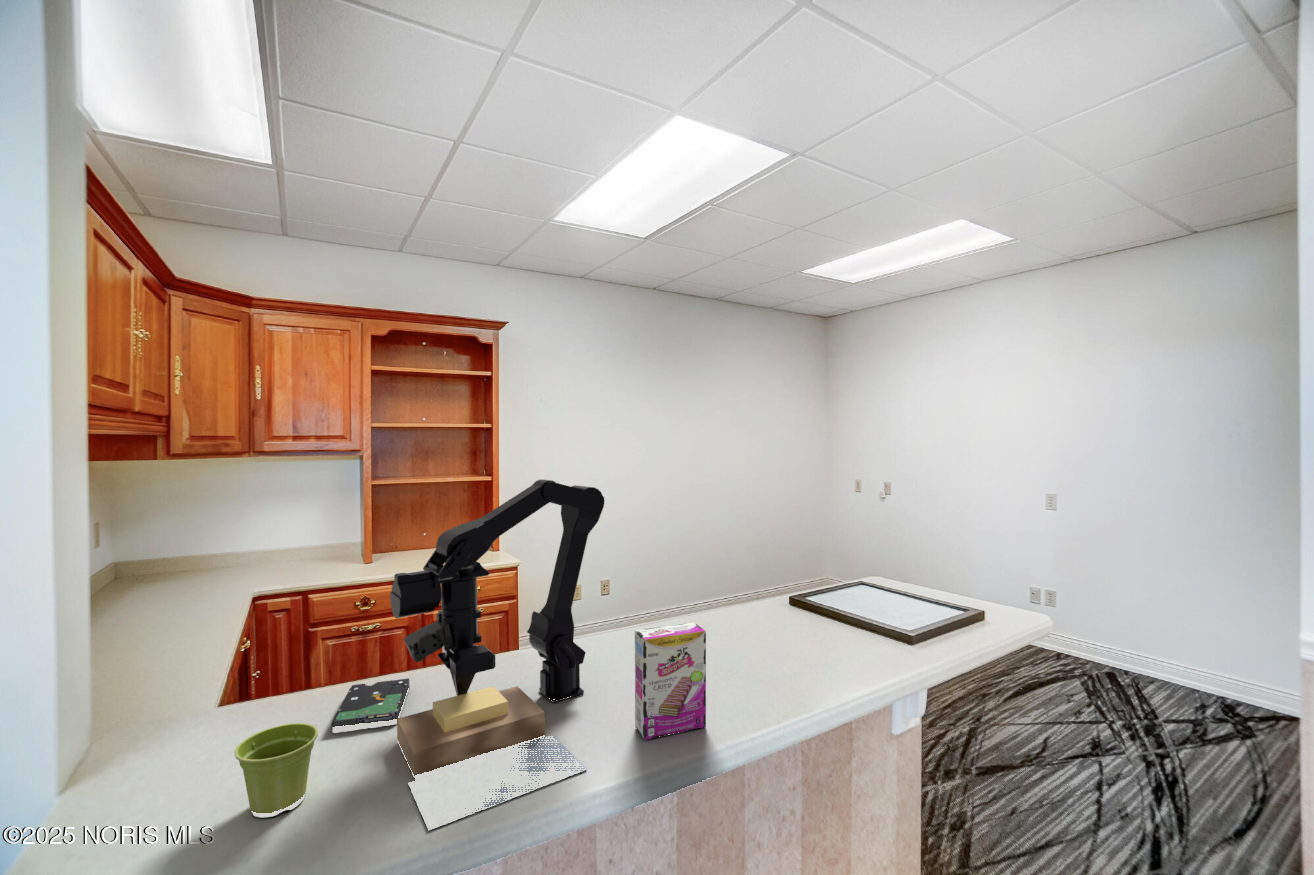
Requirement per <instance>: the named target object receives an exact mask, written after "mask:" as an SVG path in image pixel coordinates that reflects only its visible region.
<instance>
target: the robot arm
mask: <svg viewBox="0 0 1314 875" xmlns="http://www.w3.org/2000/svg"><path fill="white" fill-rule="evenodd" d="M549 503H550V504H553V505H558V506H560V508H561V509H560V517H561V522H562V527H563V530H562V535H561V540H560V544H559V548H558V552H557V555H556V561H555V564H554V569H553V573H552V576H551V582H550V586H549V591H548V595H547V599H546V603H545V604H544V606H543V608H541V610H540V611H539V612H537V611H533V612H532V613H531V614H532V615H531V617H530V618H531V621H530V625H529V628H528V629H527V631H526V632H527V634H529V636H528V637H529V638H528V640H529V644H530V645H531V647H532V648H533V649H534V650H535V651H537V652H538V657H540V658H543V659H544V660H542V664H541V666H542V668H541V670H540V672H539V676H540V677H539V685H540V686H539V688H538V690H540V691H541V692H540V691H539V692H540V693H541V694H542V693H543V694H544V695H545V696H544V695H543V694H542V695H543V696H544V697H546V698H547V697H548V698H550V700H552V701H556V700H560V699H563V698H567V697H570V696H574V697H577V696H576V695H578V694H581V695H584V693H585V690H584V689H583V688H581V683H580V682H581V679H580V678H581V677H580V670H581V669H580V665H582V664H583V663H584V659H585V658H586V657H585V656H586V651H585V650H584V649H583V648H582V647H580V646H579V645H578V644H576V643H575V642H574V635H575V623H574V619H573V612H572V610H573V609H572V607H573V604H574V600H575V594H576V590H577V586H578V585H577V584H578V580H579V577H580V572H581V569H582V568H581V567H582V565H583V564H582V563H583V560H584V554H585V550H586V546H587V542H588V537H589V535H590V533H591V531H592V530H593V529H594V528H595V527H596V525H597V524H598V523H599V520H600V517H601V515H602V513H603V510H604V506H605V496H603V494H602V491H601V490H600V489H598V488H597V487H592V486H584V485H575V484H574V485H572V486H570V485H566V484H562V483H559V482H556V481H554V480H552V479H551V480H550V479H538V480H535V482H533V483H532V485H530V486H529V487H527V488H525V489H524V490H522V491H521V492H519V493H518V494H516V495H515V496H513V497H511V498H510V499H508V500H507V501H505V502H503V503H502V504H500V505H499V506H497V507H496V508H494V509H493V510H490V512H488V513H486V514H485V515H483V516H482V517H480V518H477V519H474V520H471V521H467V522H464V523H461V524H459V525H457V526H454V527H452V528H449V529H447V530H446V531H444V532H442V533H441V534H440V535H439V536H438V537H437V541H436V545H435V550H434V551H433V553H432V554H431V555H430V557H429V559H428V560H427V562H426V563H425V565H424V566H423V568H422V569H423V570H419V571H412V572H398V573H395V574H394V576H393V577H394V579H393V580H394V581H393V582H392V586H391V591H390V593H389V600H390V607H391V612H392V614H393V618H395V619H401V618H406V617H411V616H416V615H419V614H420V615H421V614H426V613H431V612H434V611H435V609H436V608H439V607H440V606H441V608H440V609H441V610H438V612H436V621H434V622H431V623H430V624H427V625H425V626H422V627H421V628H419V629H417V630H415V631H414V632H412V633H410V634H408V635H407V636H405V637H404V638H403V641H404V643H405V646H406V648H407V650H408V652H409V654H410V657H411V658H412V659H413V661H414V662H415V663H419V662H422V661H423V660H425V659H426V658H427V657H429V656H430V655H432V654H433V653H435V652H437V651H439V650H442V652H440V653H438V654H437V657H438V658H439V659H440V661H441V662H442V663H443V665H445V667H446V668H447V669H448V670H449V672H450V674H451V680H452V682H453V686H454V690H455V694H456V696H458V695H462V694H466V693H469V690H470V687H471V685H472V683H473V680H474V678H475V676H476V674H478V673H482V672H486V671H490V670H494V669H495V668H496V654H494V652H492V651H491V649H489V648H488V647H487V646H485V645H484V644H480V645H478V643H482V635H481V634H480V633H478V632H479V628H478V625H479V624H478V619H481V618H482V611H481V610H479V609H478V588H477V587H478V584H477V583H478V582H477V578H480V577H482V578H483V577H487V576H489V575H490V571H489V570H487V569H486V568H484V567H483V565H482V564H481V563H480V562H478V561H479V559H481V558H482V557H483V556H484V555H485V554H487V552H488V551H489V549H490V548H491V546H492V545H493V543H494V542H495V541H496V540H497V539H499V538H500V536H502V535H504V534H505V533H507V532H508V531H509V530H511V529H512V528H515V527H516V526H517V525H519V523H520V524H521V522H523V521H524V520H526V519H527V518H529V517H530V516H531V515H533V514H534V513H536V512H537V511H539V510H541V509H542V508H544V507H545V506H547V505H548V504H549ZM440 603H441V604H440ZM578 696H579V695H578ZM548 698H547V699H548ZM553 699H555V700H553ZM550 700H549V701H550Z"/></svg>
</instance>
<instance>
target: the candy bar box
mask: <svg viewBox="0 0 1314 875" xmlns="http://www.w3.org/2000/svg"><path fill="white" fill-rule="evenodd" d="M706 632H707V631H706V630H705V629H704V628H702V627H701V626H700V625H698V624H697V623H696V622H689V623H681V624H673V625H666V626H658V627H651V628H644V629H643V628H642V629H636V630H634V721H635V722H634V723H635V729H636V728H637V729H636V730H637V732H638V731H639V732H640V733H639V732H638V733H639V735H640V734H641V735H642V736H641V735H640V736H641V738H642V737H643V738H644V739H643V738H642V739H643V740H644V741H648V740H647V739H649V740H652V739H651V738H654V739H657V738H656V737H659V736H663V737H665V736H664V735H668V734H673V733H677V734H679V733H678V732H682V733H685V732H684V731H687V730H688V731H687V732H690V731H689V730H691V731H694V730H693V729H696V730H698V729H697V728H701V729H704V728H703V727H705V728H706V727H707V726H706V725H707V678H706V676H707V672H706V671H707V661H706V660H707V657H706V656H707V633H706ZM673 735H674V734H673ZM668 736H669V735H668ZM659 738H660V737H659Z"/></svg>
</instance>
